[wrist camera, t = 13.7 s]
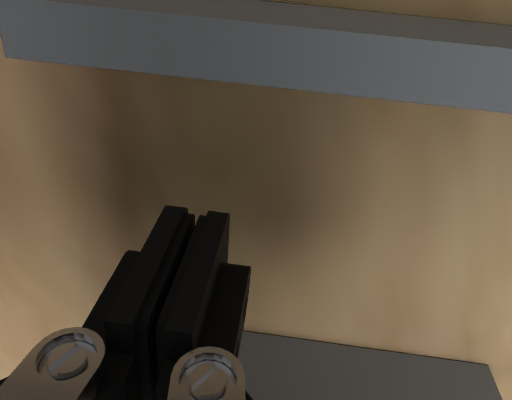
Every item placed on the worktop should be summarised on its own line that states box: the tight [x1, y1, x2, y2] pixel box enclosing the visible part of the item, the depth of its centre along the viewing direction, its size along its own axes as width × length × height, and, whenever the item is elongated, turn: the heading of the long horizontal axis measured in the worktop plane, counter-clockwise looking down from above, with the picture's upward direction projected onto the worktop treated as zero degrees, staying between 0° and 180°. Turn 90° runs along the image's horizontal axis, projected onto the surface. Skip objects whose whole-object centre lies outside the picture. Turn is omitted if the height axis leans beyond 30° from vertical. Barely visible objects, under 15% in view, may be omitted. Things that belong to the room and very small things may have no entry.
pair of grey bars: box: [0, 0, 512, 400], centre depth 13 cm, size 18×15×4 cm
